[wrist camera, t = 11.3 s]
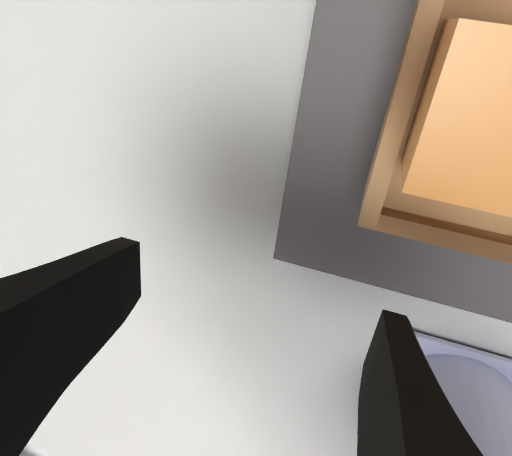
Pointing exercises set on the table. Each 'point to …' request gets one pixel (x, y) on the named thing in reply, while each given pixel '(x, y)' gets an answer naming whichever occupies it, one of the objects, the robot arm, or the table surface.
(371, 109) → the dock
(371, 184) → the pallet
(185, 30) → the table surface
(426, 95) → the light brown block
